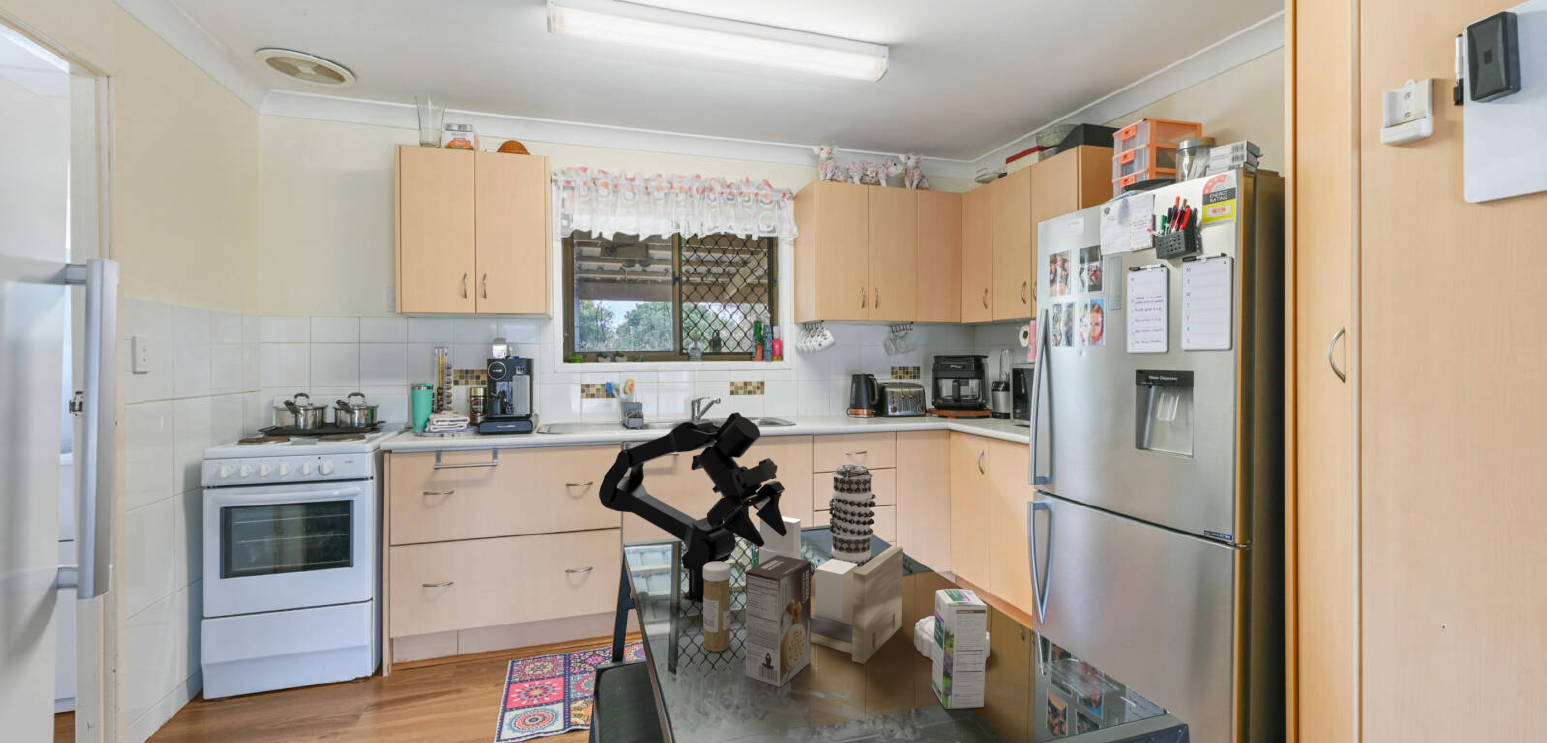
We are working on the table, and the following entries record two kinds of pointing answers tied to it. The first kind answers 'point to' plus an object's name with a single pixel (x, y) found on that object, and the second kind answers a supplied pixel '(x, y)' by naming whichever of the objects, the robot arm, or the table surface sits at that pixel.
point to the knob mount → (867, 609)
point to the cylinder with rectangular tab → (780, 540)
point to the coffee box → (778, 619)
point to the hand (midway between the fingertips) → (774, 540)
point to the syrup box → (959, 648)
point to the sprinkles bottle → (716, 606)
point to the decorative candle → (852, 514)
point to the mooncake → (932, 637)
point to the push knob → (834, 590)
